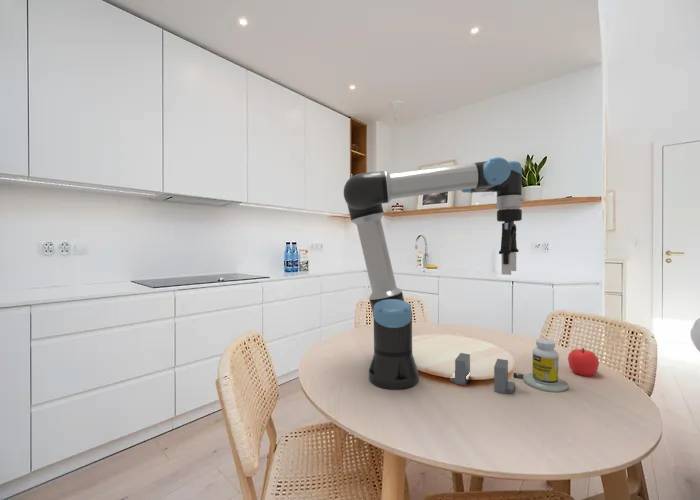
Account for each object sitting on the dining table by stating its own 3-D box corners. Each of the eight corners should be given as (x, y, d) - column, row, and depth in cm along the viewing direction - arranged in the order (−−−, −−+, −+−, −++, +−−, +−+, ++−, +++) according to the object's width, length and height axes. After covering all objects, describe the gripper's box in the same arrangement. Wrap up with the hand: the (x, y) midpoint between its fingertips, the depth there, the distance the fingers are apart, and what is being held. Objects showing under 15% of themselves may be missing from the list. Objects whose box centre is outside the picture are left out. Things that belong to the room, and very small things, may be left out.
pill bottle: (527, 378, 98) (527, 339, 97) (544, 375, 100) (544, 337, 99) (546, 387, 92) (546, 345, 91) (563, 383, 93) (564, 343, 93)
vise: (449, 382, 98) (448, 358, 98) (454, 373, 104) (454, 351, 103) (522, 397, 88) (522, 371, 87) (524, 387, 94) (524, 362, 93)
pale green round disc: (522, 386, 94) (522, 384, 94) (525, 373, 103) (525, 370, 103) (569, 395, 88) (569, 392, 88) (567, 380, 98) (567, 377, 98)
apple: (567, 374, 101) (567, 349, 101) (567, 366, 108) (567, 342, 108) (599, 380, 97) (600, 353, 97) (598, 371, 104) (598, 346, 103)
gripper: (517, 205, 97) (517, 276, 98) (525, 211, 118) (525, 269, 119) (490, 207, 102) (490, 275, 102) (502, 212, 123) (502, 269, 123)
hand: (509, 272), depth 111 cm, fingers open, 13 cm apart
